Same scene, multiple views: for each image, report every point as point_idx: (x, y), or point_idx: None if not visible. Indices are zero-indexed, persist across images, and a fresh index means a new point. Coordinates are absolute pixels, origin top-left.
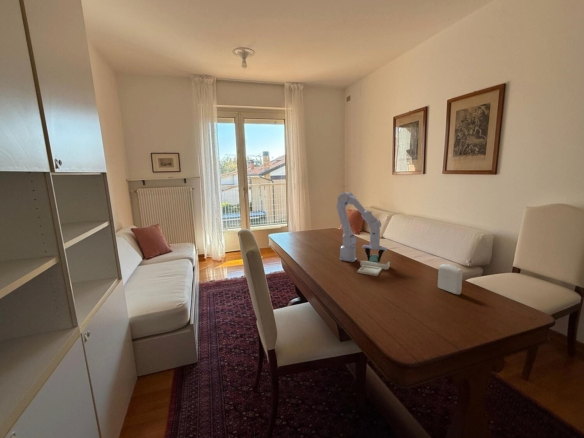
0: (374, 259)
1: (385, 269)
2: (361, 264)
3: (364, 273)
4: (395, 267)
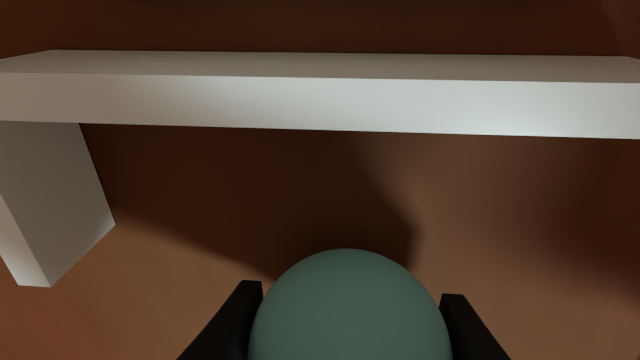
0: (316, 293)
1: (58, 51)
2: (618, 60)
3: None
4: None
